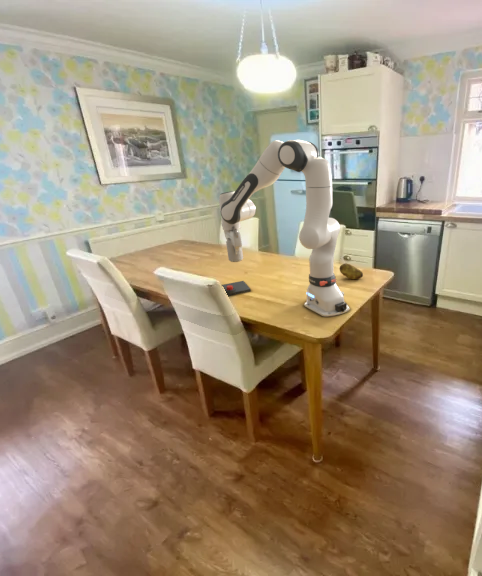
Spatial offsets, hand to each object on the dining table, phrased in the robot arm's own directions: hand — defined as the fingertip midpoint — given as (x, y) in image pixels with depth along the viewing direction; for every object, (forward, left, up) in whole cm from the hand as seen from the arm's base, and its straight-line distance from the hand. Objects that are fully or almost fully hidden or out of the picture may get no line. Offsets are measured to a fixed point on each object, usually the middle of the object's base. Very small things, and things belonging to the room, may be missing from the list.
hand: (234, 252), depth 164 cm
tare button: (-6, +6, -17) cm, 19 cm away
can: (0, 0, -5) cm, 5 cm away
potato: (-19, -59, -20) cm, 65 cm away
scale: (-1, +2, -20) cm, 20 cm away
